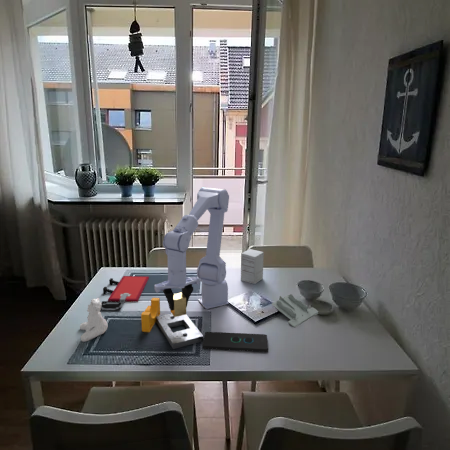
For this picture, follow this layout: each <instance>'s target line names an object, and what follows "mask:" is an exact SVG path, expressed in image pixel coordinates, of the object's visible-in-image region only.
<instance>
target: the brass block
mask: <svg viewBox="0 0 450 450" xmlns="http://www.w3.org/2000/svg"><path fill="white" fill-rule="evenodd" d="M169 310H170V309H169ZM170 313H172V314H173V316H174V317H177V316H182V315H187V307H186V297H185V296H184V295H183V293H182V292H178V293H174V297H173V310H172V311H171V310H170Z"/></svg>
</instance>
